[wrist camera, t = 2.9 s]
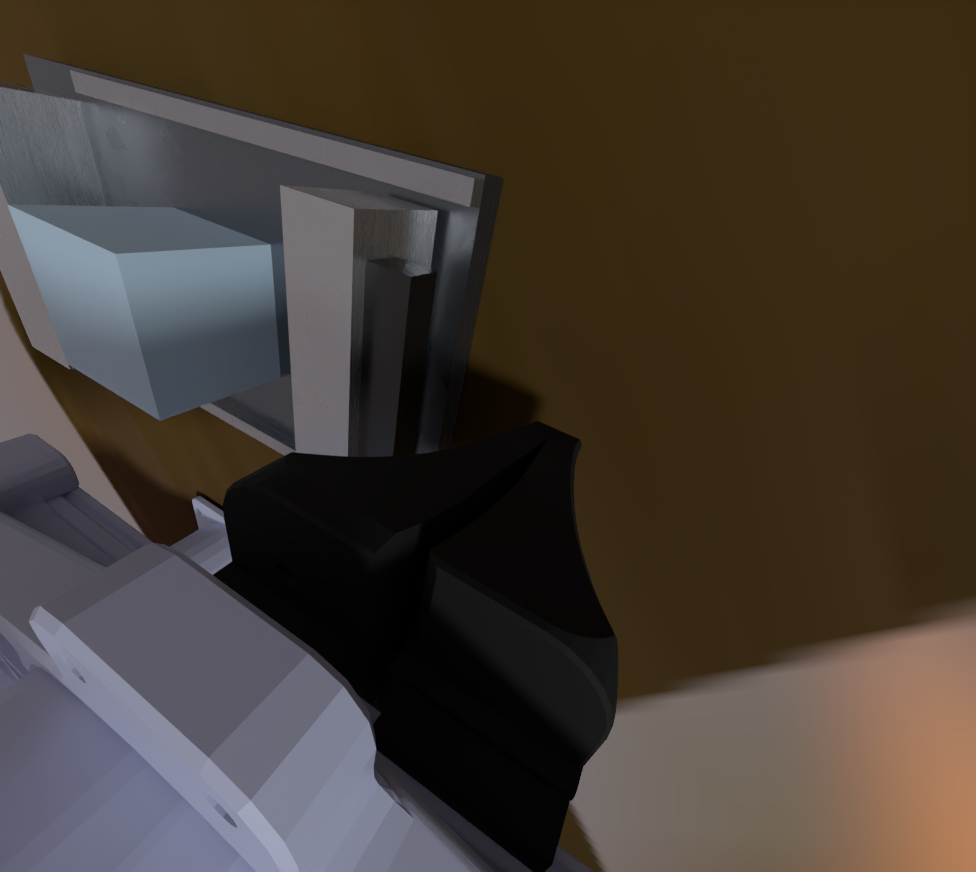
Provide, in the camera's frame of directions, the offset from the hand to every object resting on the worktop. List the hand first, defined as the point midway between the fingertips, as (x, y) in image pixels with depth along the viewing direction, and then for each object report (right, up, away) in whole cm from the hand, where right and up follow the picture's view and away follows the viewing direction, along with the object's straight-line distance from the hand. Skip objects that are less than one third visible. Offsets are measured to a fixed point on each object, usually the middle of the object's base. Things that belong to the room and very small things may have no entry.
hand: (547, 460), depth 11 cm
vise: (-11, +6, +6) cm, 14 cm away
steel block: (-12, +6, +5) cm, 14 cm away
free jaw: (-4, +2, +2) cm, 5 cm away
